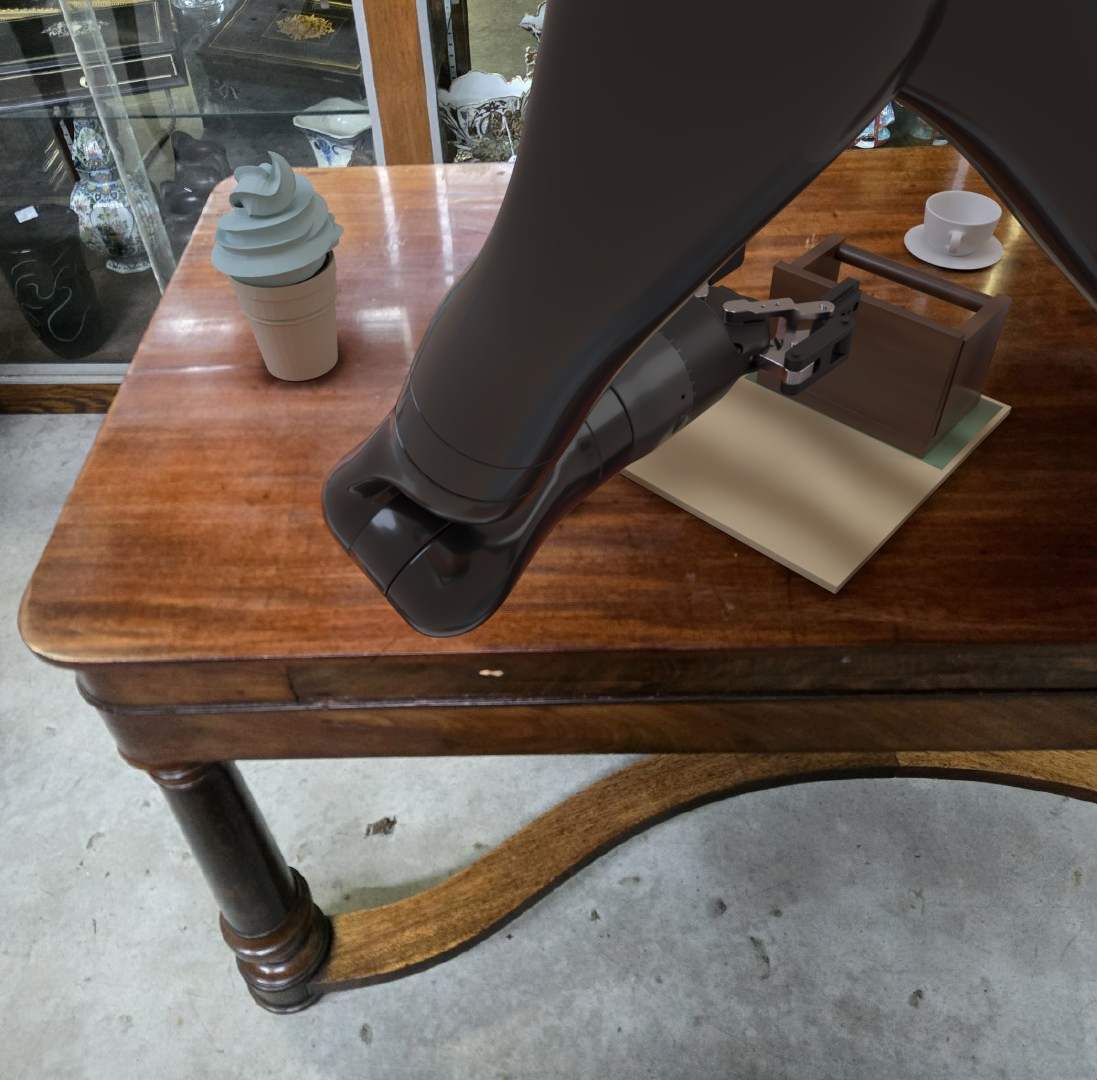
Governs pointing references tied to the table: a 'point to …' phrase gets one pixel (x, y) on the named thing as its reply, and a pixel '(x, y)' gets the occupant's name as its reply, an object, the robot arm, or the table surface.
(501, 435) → the robot arm
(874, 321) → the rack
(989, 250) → the teacup
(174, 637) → the table surface
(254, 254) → the ice cream cone
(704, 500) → the board
